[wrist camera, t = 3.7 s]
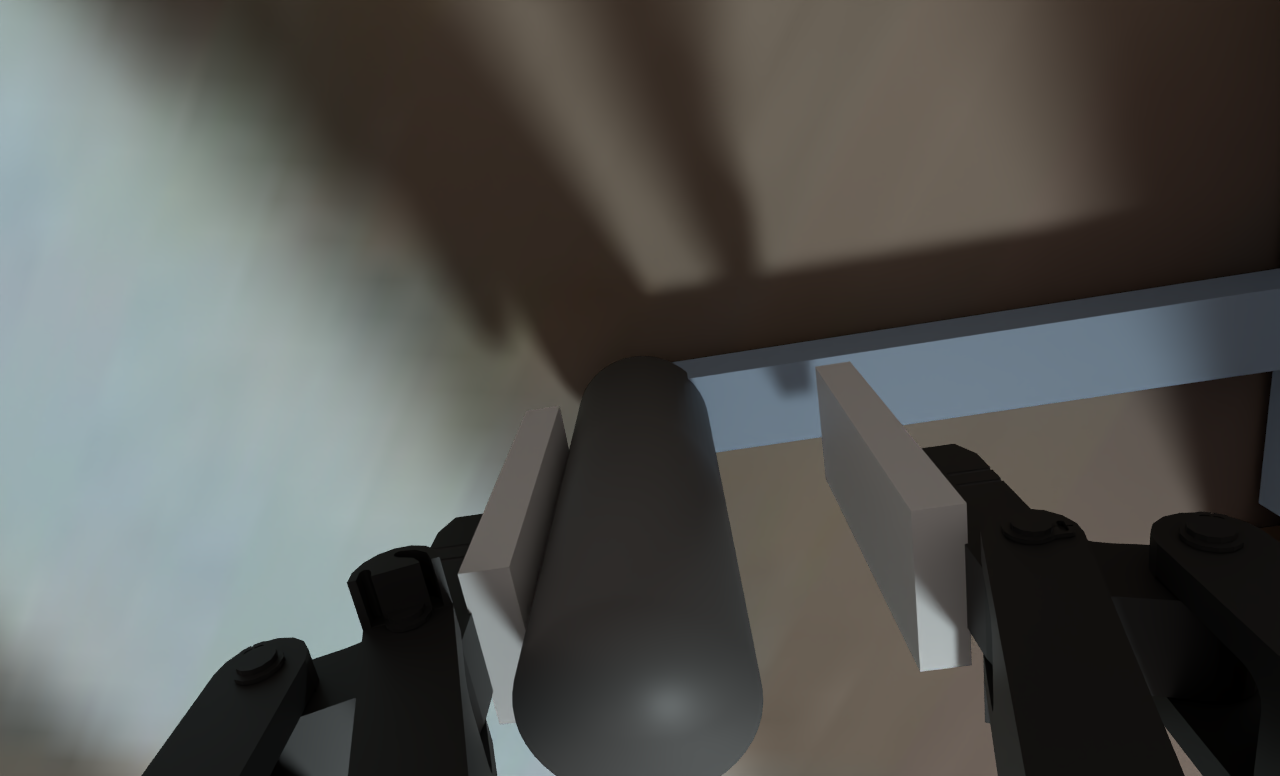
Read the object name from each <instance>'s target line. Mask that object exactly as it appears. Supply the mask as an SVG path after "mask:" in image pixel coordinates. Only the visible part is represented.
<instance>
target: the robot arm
mask: <svg viewBox="0 0 1280 776" xmlns="http://www.w3.org/2000/svg"><path fill="white" fill-rule="evenodd" d="M815 371H816V382H817V392H818V402H819V413H820V423H821V433H822V444H823V454H824V465H825V475H826V480H827V482H828V484H829V486H830V488H831V490H832V492H833V494H834V496H835V498H836V500H837V502H838V504H839V506H840V508H841V511H842V513H843V515H844V517H845V519H846V521H847V523H848V525H849V527H850V529H851V531H852V533H853V535H854V537H855V539H856V541H857V543H858V545H859V547H860V549H861V551H862V554H863V556H864V558H865V560H866V562H867V564H868V566H869V568H870V570H871V572H872V574H873V576H874V578H875V580H876V582H877V584H878V586H879V588H880V590H881V592H882V594H883V596H884V599H885V601H886V603H887V605H888V607H889V609H890V611H891V613H892V615H893V617H894V619H895V621H896V623H897V625H898V627H899V629H900V631H901V633H902V635H903V637H904V639H905V642H906V644H907V646H908V648H909V650H910V652H911V654H912V656H913V658H914V660H915V662H916V664H917V666H918V668H919V670H920V672H921V671H929V670H937V669H945V668H953V667H961V666H969V665H972V662H971V634H972V636H973V637H974V639H975V641H976V642H977V644H978V646H979V647H980V649H981V650H982V652H983V658H984V698H985V722H986V723H990V724H991V731H992V738H993V745H994V752H995V759H996V766H997V772H998V776H1185V775H1184V773H1183V771H1182V768H1181V766H1180V763H1179V761H1178V758H1177V756H1176V754H1175V751H1174V749H1173V746H1172V744H1171V741H1170V739H1169V737H1168V734H1167V732H1166V729H1167V730H1168V731H1169V733H1170V734H1171V735H1172V736H1173V738H1174V739H1175V740H1176V742H1177V743H1178V744H1179V745H1180V747H1181V748H1182V749H1183V751H1184V752H1185V753H1186V755H1187V756H1188V757H1189V758H1190V760H1191V761H1192V762H1193V764H1194V765H1195V766H1196V768H1197V769H1198V770H1199V771H1200V773H1201V774H1202V775H1203V776H1280V542H1278V541H1277V540H1276V539H1274V538H1273V537H1272V536H1270V535H1269V534H1267V533H1266V532H1265V531H1263V530H1261V529H1259V528H1257V527H1255V526H1253V525H1252V524H1250V523H1248V522H1245V521H1241V520H1238V519H1235V518H1231V517H1229V516H1227V515H1223V514H1217V513H1214V514H1211V512H1196V513H1178V514H1173V515H1169V516H1164V517H1162V518H1161V519H1159V520H1158V521H1156V522H1155V523H1153V525H1152V529H1151V533H1150V545H1139V544H1115V543H1102V542H1092V541H1088V540H1087V538H1086V535H1085V533H1084V531H1083V530H1082V529H1081V528H1080V527H1079V525H1078V524H1077V523H1076V522H1074V521H1072V520H1070V519H1068V518H1066V517H1065V516H1063V515H1059V514H1056V513H1052V512H1048V511H1045V510H1035V509H1030V508H1029V507H1028V506H1027V505H1026V504H1025V503H1024V502H1023V501H1022V500H1021V498H1020V497H1019V496H1018V495H1017V494H1016V493H1015V492H1014V491H1013V490H1012V489H1011V488H1010V487H1009V486H1008V485H1007V484H1006V483H1005V482H1004V481H1001V478H1000V477H999V476H998V475H997V474H996V473H995V472H994V471H993V470H990V467H989V466H988V465H987V464H986V463H985V462H984V460H983V459H982V458H981V457H980V456H979V455H978V454H976V453H974V452H972V451H970V450H967V449H965V448H963V447H960V446H958V445H956V444H949V445H942V446H935V447H928V448H921V447H920V446H919V445H918V444H917V442H916V441H915V440H914V439H913V437H912V436H911V435H910V434H909V433H908V431H907V430H906V429H905V428H904V427H903V425H902V424H901V423H900V422H899V420H898V419H897V418H896V417H895V416H894V414H893V413H892V412H891V411H890V409H889V408H888V407H887V406H886V405H885V403H884V402H883V401H882V400H881V399H880V397H879V396H878V395H877V394H876V392H875V391H874V390H873V389H872V388H871V386H870V385H869V384H868V383H867V382H866V380H865V379H864V378H863V377H862V375H861V374H860V373H859V372H858V371H857V369H856V368H855V367H854V366H853V364H852V363H851V362H850V361H849V362H843V363H836V364H829V365H823V366H816V367H815ZM568 453H569V448H568V443H567V438H566V434H565V429H564V424H563V420H562V415H561V410H560V406H554V407H547V408H541V409H534V410H528V411H526V413H525V415H524V417H523V420H522V422H521V424H520V427H519V429H518V432H517V434H516V436H515V439H514V441H513V444H512V446H511V448H510V451H509V453H508V455H507V458H506V460H505V463H504V465H503V467H502V470H501V472H500V474H499V477H498V479H497V482H496V484H495V486H494V489H493V491H492V493H491V496H490V498H489V501H488V503H487V505H486V508H485V510H484V513H483V514H478V515H471V516H464V517H457V518H455V519H453V520H452V521H451V522H450V523H449V524H448V525H447V526H445V527H444V528H443V529H442V530H441V531H440V532H439V533H438V534H437V536H436V538H435V540H434V542H433V544H432V546H431V548H430V547H427V546H412V545H411V546H406V547H401V548H395V549H392V550H390V551H387V552H384V553H381V554H379V555H377V556H375V557H373V558H371V559H370V560H368V561H366V562H364V563H363V564H362V565H361V566H359V567H358V568H357V569H356V570H355V571H354V572H353V573H352V574H351V576H350V578H349V580H348V582H347V584H348V587H349V590H350V593H351V596H352V599H353V602H354V605H355V608H356V611H357V614H358V617H359V620H360V623H361V626H362V629H363V637H362V642H360V643H358V644H356V645H353V646H351V647H348V648H346V649H343V650H340V651H337V652H334V653H331V654H328V655H325V656H322V657H319V658H316V659H313V660H312V658H311V655H310V653H309V650H308V648H307V646H306V644H305V642H304V641H302V640H299V639H296V638H277V639H273V640H270V641H264V642H260V643H258V644H255V645H253V647H251V646H250V647H248V648H246V649H244V650H243V651H241V652H240V653H239V654H238V655H236V656H235V657H233V658H232V659H230V660H229V661H227V662H226V663H225V664H224V665H223V666H222V667H221V668H220V669H219V670H218V671H217V672H216V673H215V674H214V675H213V677H212V678H211V680H210V681H209V682H208V684H207V685H206V687H205V688H204V689H203V691H202V692H201V694H200V695H199V696H198V698H197V699H196V701H195V702H194V703H193V705H192V706H191V707H190V709H189V710H188V712H187V713H186V714H185V716H184V717H183V719H182V720H181V721H180V723H179V724H178V726H177V727H176V728H175V730H174V731H173V733H172V734H171V735H170V737H169V738H168V739H167V741H166V742H165V744H164V745H163V746H162V748H161V749H160V751H159V752H158V753H157V755H156V756H155V758H154V759H153V760H152V762H151V763H150V765H149V766H148V767H147V769H146V770H145V771H144V773H143V774H142V776H497V771H496V763H495V756H494V749H493V742H492V738H491V735H490V731H489V728H488V724H487V721H486V716H487V713H488V709H489V705H490V702H491V698H493V702H494V706H495V709H496V713H497V716H498V720H499V723H500V724H508V723H516V721H515V717H514V712H513V707H512V690H513V683H514V677H515V673H516V669H517V665H518V661H519V657H520V653H521V648H522V644H523V640H524V636H525V632H526V628H527V624H528V619H529V615H530V611H531V607H532V603H533V599H534V594H535V590H536V586H537V582H538V578H539V574H540V570H541V565H542V561H543V557H544V553H545V549H546V545H547V541H548V536H549V532H550V528H551V524H552V520H553V516H554V512H555V507H556V503H557V499H558V495H559V491H560V487H561V482H562V478H563V474H564V470H565V466H566V462H567V458H568ZM1164 726H1165V727H1166V729H1165V727H1164Z"/></svg>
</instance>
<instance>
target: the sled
mask: <svg viewBox="0 0 1280 776" xmlns="http://www.w3.org/2000/svg"><path fill="white" fill-rule="evenodd" d="M849 361H850V362H851V363H852V364H853V366H854V367H855V368H856V369H857V371H858V372H859V373H860V374H861V375H862V377H863V378H864V379H865V380H866V382H867V383H868V384H869V385H870V386H871V388H872V389H873V390H874V391H875V392H876V394H877V395H878V396H879V397H880V399H881V400H882V401H883V402H884V403H885V405H886V406H887V407H888V408H889V409H890V411H891V412H892V413H893V414H894V416H895V417H896V418H897V419H898V420H899V422H900V423H901V424H902V425H907V424H914V423H920V422H927V421H934V420H941V419H948V418H955V417H961V416H968V415H975V414H982V413H989V412H995V411H1002V410H1009V409H1016V408H1023V407H1030V406H1036V405H1043V404H1050V403H1057V402H1064V401H1071V400H1077V399H1084V398H1091V397H1098V396H1105V395H1112V394H1118V393H1125V392H1132V391H1139V390H1146V389H1153V388H1159V387H1166V386H1173V385H1180V384H1187V383H1194V382H1200V381H1207V380H1214V379H1221V378H1228V377H1234V376H1241V375H1248V374H1255V373H1262V372H1269V371H1273V373H1272V383H1271V392H1270V401H1269V411H1268V420H1267V430H1266V439H1265V448H1264V458H1263V467H1262V476H1261V486H1260V495H1259V504H1261V505H1262V506H1264V507H1266V508H1267V509H1269V510H1270V511H1272V512H1273V513H1275V514H1277V515H1278V516H1280V268H1279V269H1272V270H1266V271H1259V272H1253V273H1246V274H1240V275H1233V276H1227V277H1220V278H1214V279H1208V280H1201V281H1195V282H1188V283H1182V284H1175V285H1169V286H1162V287H1156V288H1149V289H1143V290H1136V291H1130V292H1123V293H1117V294H1111V295H1104V296H1098V297H1091V298H1085V299H1078V300H1072V301H1065V302H1059V303H1052V304H1046V305H1039V306H1033V307H1026V308H1020V309H1014V310H1007V311H1001V312H994V313H988V314H981V315H975V316H968V317H962V318H955V319H949V320H942V321H936V322H929V323H923V324H916V325H910V326H904V327H897V328H891V329H884V330H878V331H871V332H865V333H858V334H852V335H845V336H839V337H832V338H826V339H819V340H813V341H807V342H800V343H794V344H787V345H781V346H774V347H768V348H761V349H755V350H748V351H742V352H735V353H729V354H722V355H716V356H710V357H703V358H697V359H690V360H684V361H677V362H669V361H667V360H664V359H660V358H656V357H650V356H638V357H630V358H626V359H622V360H620V361H617V362H615V363H613V364H611V365H609V366H607V367H606V368H604V369H603V370H602V371H600V372H599V373H598V374H597V375H596V376H595V377H594V378H593V380H592V381H591V382H590V383H589V385H588V387H587V388H586V390H585V392H584V394H583V397H582V400H581V404H580V408H579V412H578V416H577V420H576V424H575V429H574V433H573V437H572V441H571V445H570V449H569V453H568V458H567V462H566V466H565V470H564V474H563V478H562V482H561V487H560V491H559V495H558V499H557V503H556V507H555V512H554V516H553V520H552V524H551V528H550V532H549V536H548V541H547V545H546V549H545V553H544V557H543V561H542V565H541V570H540V574H539V578H538V582H537V586H536V590H535V594H534V599H533V603H532V607H531V611H530V615H529V619H528V624H527V628H526V632H525V636H524V640H523V644H522V648H521V653H520V657H519V661H518V665H517V669H516V673H515V677H514V683H513V690H512V707H513V712H514V717H515V721H516V724H517V727H518V730H519V732H520V734H521V736H522V738H523V740H524V742H525V744H526V745H527V747H528V748H529V749H530V751H531V752H532V753H533V755H534V756H535V757H536V758H537V759H538V760H539V761H540V762H541V763H542V764H543V765H544V766H545V767H546V768H547V769H548V770H550V771H551V772H552V773H553V774H555V775H556V776H721V775H722V774H724V773H725V772H727V771H728V770H729V769H730V768H731V767H732V766H733V765H734V764H735V763H736V762H737V761H738V760H739V759H740V758H741V757H742V755H743V754H744V753H745V752H746V750H747V749H748V747H749V746H750V744H751V742H752V741H753V739H754V737H755V734H756V732H757V730H758V727H759V724H760V720H761V716H762V708H763V690H762V684H761V679H760V674H759V669H758V664H757V659H756V654H755V649H754V644H753V639H752V633H751V628H750V623H749V618H748V613H747V608H746V603H745V598H744V593H743V588H742V583H741V578H740V573H739V568H738V563H737V558H736V553H735V548H734V542H733V537H732V532H731V527H730V522H729V517H728V512H727V507H726V502H725V497H724V492H723V487H722V482H721V477H720V472H719V467H718V462H717V456H716V452H722V451H729V450H736V449H743V448H750V447H757V446H763V445H770V444H777V443H784V442H791V441H797V440H804V439H811V438H818V437H822V433H821V423H820V413H819V402H818V392H817V382H816V371H815V367H816V366H823V365H829V364H836V363H843V362H849Z"/></svg>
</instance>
